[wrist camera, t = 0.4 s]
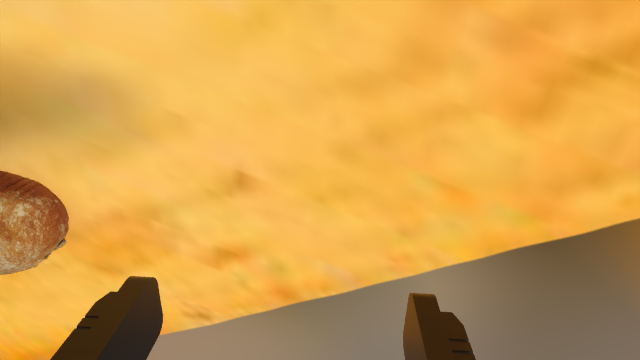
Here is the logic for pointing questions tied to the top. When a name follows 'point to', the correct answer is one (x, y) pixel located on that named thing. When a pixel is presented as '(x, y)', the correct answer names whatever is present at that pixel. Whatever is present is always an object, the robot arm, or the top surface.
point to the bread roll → (28, 223)
